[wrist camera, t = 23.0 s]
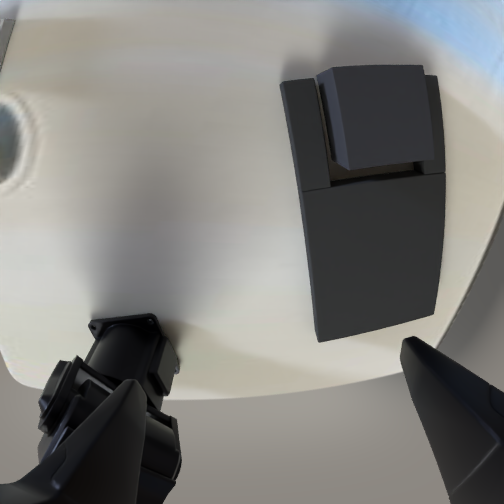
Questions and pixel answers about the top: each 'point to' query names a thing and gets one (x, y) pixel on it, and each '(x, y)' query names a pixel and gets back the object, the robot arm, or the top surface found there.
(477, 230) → the top surface
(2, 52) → the light grey notched plate
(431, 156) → the dark grey rectangular block
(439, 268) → the base pad
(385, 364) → the top surface
